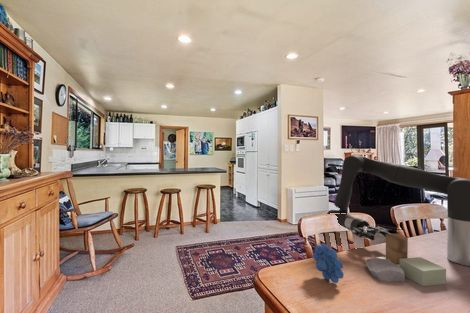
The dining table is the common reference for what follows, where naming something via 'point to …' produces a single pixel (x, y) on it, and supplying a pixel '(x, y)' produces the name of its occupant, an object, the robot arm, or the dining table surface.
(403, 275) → the stone block
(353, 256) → the dining table surface
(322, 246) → the grapes
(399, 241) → the walnut block
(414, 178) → the robot arm
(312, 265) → the dining table surface
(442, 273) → the green stand
